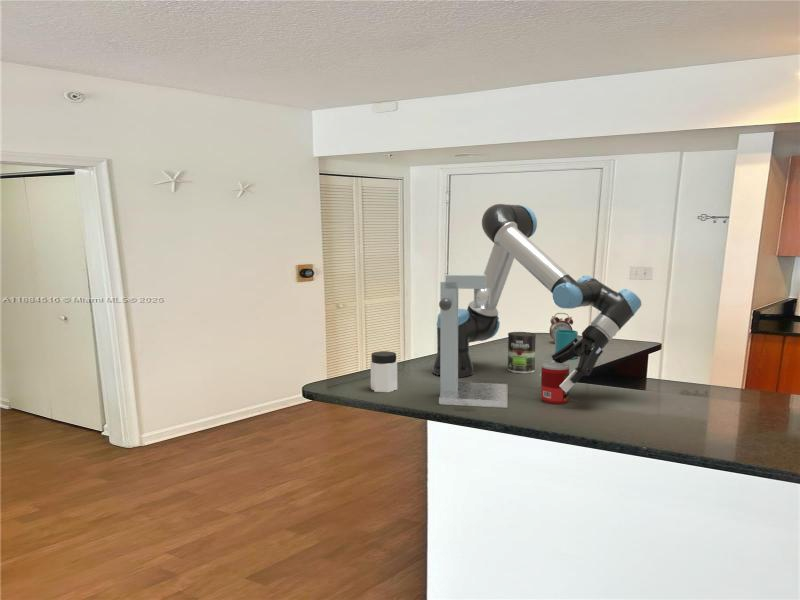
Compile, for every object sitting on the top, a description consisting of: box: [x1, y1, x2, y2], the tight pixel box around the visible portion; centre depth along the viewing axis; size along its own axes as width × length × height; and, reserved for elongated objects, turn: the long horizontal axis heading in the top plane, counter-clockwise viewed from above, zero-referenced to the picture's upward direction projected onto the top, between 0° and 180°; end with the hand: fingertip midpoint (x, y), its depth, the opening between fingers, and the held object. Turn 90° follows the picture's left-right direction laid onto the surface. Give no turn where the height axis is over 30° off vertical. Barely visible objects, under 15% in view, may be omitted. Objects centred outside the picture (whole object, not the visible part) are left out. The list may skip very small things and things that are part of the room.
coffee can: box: [507, 331, 537, 374], centre depth 204 cm, size 10×10×14 cm
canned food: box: [540, 362, 570, 405], centre depth 163 cm, size 8×8×11 cm
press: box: [438, 274, 509, 409], centre depth 165 cm, size 23×20×38 cm
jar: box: [370, 350, 398, 393], centre depth 177 cm, size 9×8×12 cm
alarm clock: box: [548, 312, 574, 343], centre depth 260 cm, size 11×5×15 cm, turn 81°
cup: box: [554, 329, 579, 360], centre depth 228 cm, size 9×12×11 cm
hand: (552, 383), depth 162 cm, fingers open, 13 cm apart
